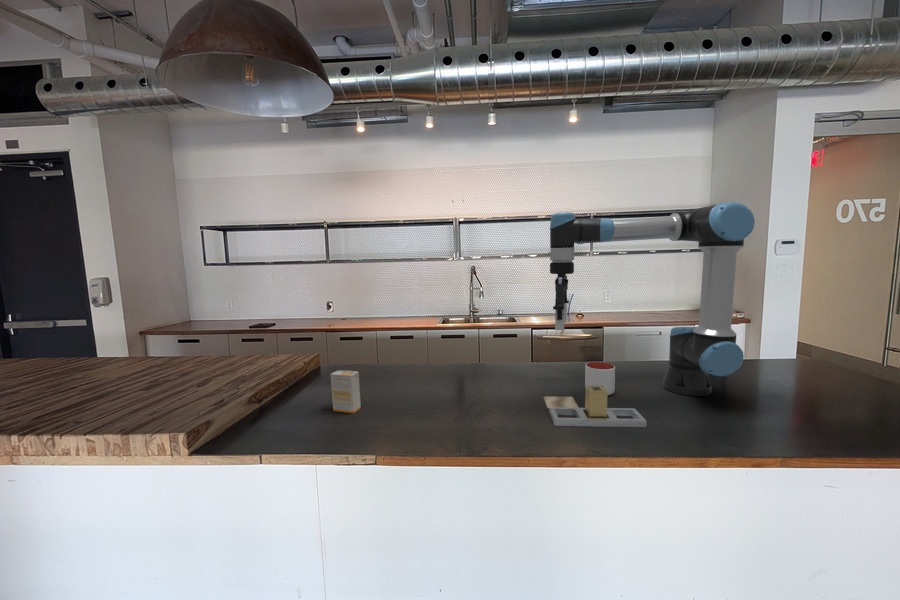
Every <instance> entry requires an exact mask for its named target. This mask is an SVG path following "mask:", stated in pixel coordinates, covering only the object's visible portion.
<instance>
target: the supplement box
mask: <svg viewBox="0 0 900 600" xmlns="http://www.w3.org/2000/svg"><path fill="white" fill-rule="evenodd" d="M359 375H360V374H359V371H355V370H354V371H353V370H342V369H338V370H336V371H334V372H332V373H330V382H331V383H330V385H331V386H330V388H331V399H332V411H333V412H339V413H346V414H347V413H348V414H355V413H357V412H358V411H360V410H361V407H362V406H361V405H362V404H361V391H360V377H359Z"/></svg>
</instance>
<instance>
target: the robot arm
mask: <svg viewBox="0 0 900 600" xmlns="http://www.w3.org/2000/svg"><path fill="white" fill-rule="evenodd" d="M754 216H755V215H754V213H753V212H752V211H751V209H750V208H749V207H747V206H746V205H745V204H742V203H741V202H736V201H735V202H734V201H733V202H732V201H731V202H720V203H717V204H712V205H708V206H703V207H700V208H695V209H692V210H688V211H687V210H686V211H683V212H674V213H671V214H670V215H669V216H668V215H667V216H655V217H654V216H653V217H640V218H625V219H624V218H623V219H612V218H608V217H607V218H605V217H604V218H603V217H599V218H576V216H575V213H574V212H568V211H567V212H556V213H553V214H552V215H551V217H550V223H549V224H550V225H549V243H550V244H549V247H550V248H549V250H550V251H548V255H549V261H551V262H550V264H549V273H550V274H551V275H557V277H556V278H555V279H554V285H555V287H554V288H555V289H554V291H555V301H554V303H555V304H554V306H553V307H552V310H555V311H554V312H555V313H554V321H555V322H554V323H555V324H554V331H556V330H557V331H565V324H567V323H568V321H567V320H568V318H567V317H568V304H569V303H570V300H568V292H567V291H568V285H569V279H568V275H570V274H574V272H575V263H574V262H573V261H574V260H575V244H577V245H583V244H592V243H593V244H594V243H595V244H596V243H609V242H610V243H614V242H626V241H627V242H629V241H647V240H649V241H650V240H660V239H661V240H664V239H669V241H671V242H678V241H679V242H680V241H681V242H682V241H683V242H696V243H698V247H697V248H698V249H699V250H701V252H702V253H703V257H702V273H701V285H700V286H701V289H700V300H699V301H700V303H699V304H700V305H699V316H698V317H699V318H698V326H675V327H672V328H671V329H670V335H669V358H668V359H669V360H668V362H669V363H668V367H667V370H666V372H665V374H664V377H663V379H662V387H663V388H664V389H665V390H667V391H669V392H671V393H672V392H673V393H675V394H679V395H684V396H685V395H686V396H692V397H703V396H704V397H705V396H709V395H710V394H712V384H711V381H710V378H709V375H713V376H716V377H727V376H730V375H732V374H734V373H735V372H736V371H737V370H739V369H740V367H741V366H742V364H743V363H744V357H745V356H744V351H743V349H742V348H741V347H740V346H739V344H737V332H735V331H734V330H733V328H732V320H733V309H734V296H735V294H734V293H735V280H736V269H737V268H736V267H737V253H738V252H739V251H740V250H741V249H743V248H744V243H745V239H746V238H747V237H748V236H750V235H749V234H751V233H752V232H753V230H754V228H755V222H756V221H755V217H754Z"/></svg>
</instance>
